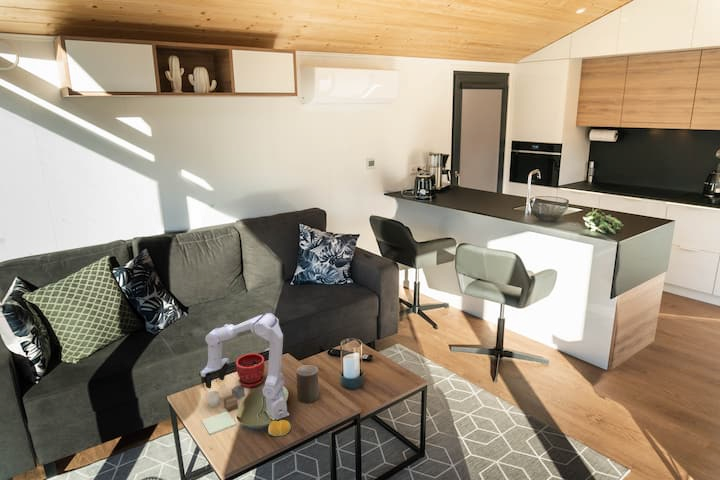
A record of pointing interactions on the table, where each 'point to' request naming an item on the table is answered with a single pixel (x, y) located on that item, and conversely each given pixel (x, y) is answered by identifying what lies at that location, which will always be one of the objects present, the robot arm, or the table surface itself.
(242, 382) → the plant pot
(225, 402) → the walnut block
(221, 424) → the plate
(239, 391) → the grey metal block
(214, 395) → the white rounded dome
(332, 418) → the table surface
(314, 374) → the pillar candle
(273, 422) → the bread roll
